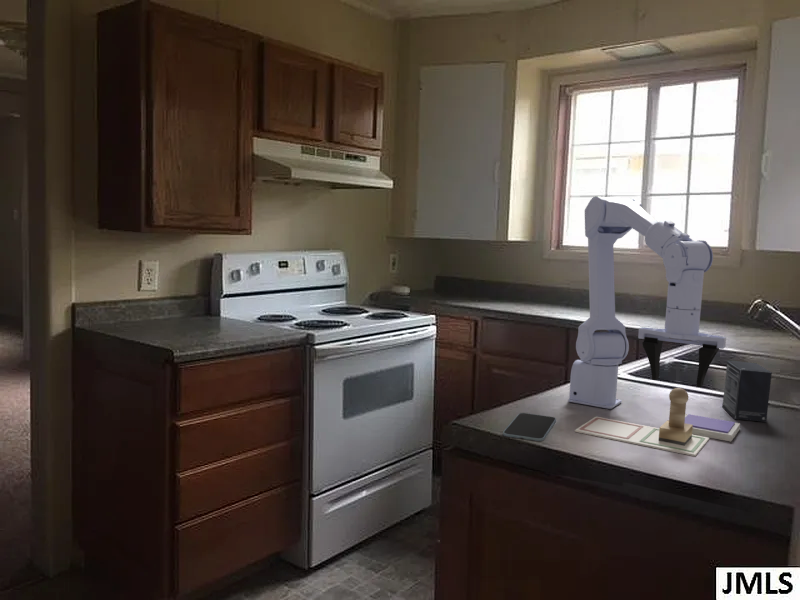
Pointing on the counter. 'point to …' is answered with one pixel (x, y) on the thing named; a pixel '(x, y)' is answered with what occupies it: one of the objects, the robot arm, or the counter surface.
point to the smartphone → (530, 426)
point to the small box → (746, 391)
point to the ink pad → (712, 427)
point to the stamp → (676, 420)
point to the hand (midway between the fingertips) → (677, 382)
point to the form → (638, 435)
